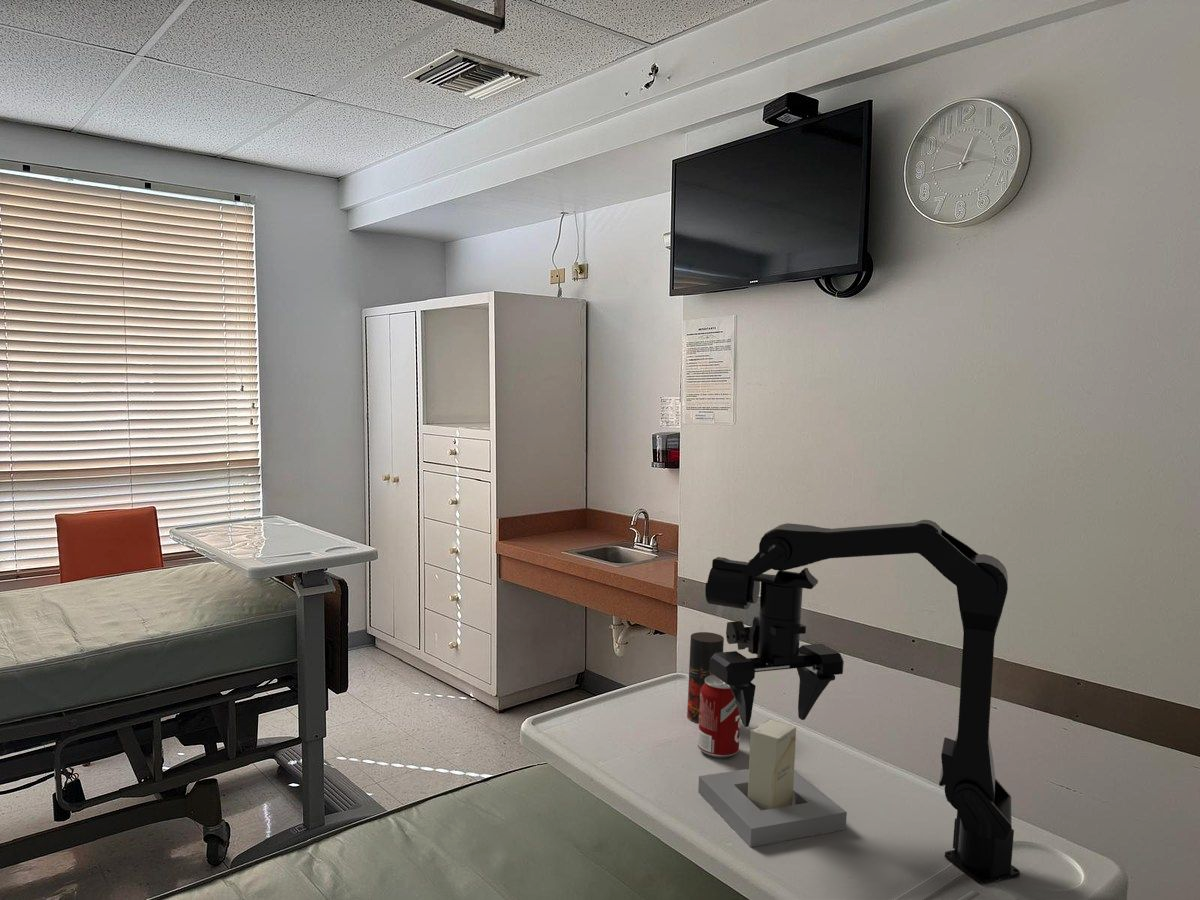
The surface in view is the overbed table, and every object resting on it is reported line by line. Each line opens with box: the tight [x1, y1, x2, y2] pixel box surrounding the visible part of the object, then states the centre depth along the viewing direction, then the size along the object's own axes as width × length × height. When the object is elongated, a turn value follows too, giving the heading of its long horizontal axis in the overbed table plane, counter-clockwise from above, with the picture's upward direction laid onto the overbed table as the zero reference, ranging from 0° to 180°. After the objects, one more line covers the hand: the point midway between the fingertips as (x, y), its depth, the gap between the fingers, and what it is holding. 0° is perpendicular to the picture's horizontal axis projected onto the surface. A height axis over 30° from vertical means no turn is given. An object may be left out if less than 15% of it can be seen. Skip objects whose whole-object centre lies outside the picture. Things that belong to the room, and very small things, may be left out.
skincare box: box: [748, 718, 797, 811], centre depth 117 cm, size 6×4×12 cm
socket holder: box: [697, 768, 848, 848], centre depth 117 cm, size 15×15×2 cm
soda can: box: [697, 675, 741, 759], centre depth 135 cm, size 7×7×12 cm
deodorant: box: [686, 631, 725, 725], centre depth 149 cm, size 6×6×15 cm
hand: (773, 722), depth 116 cm, fingers open, 9 cm apart
